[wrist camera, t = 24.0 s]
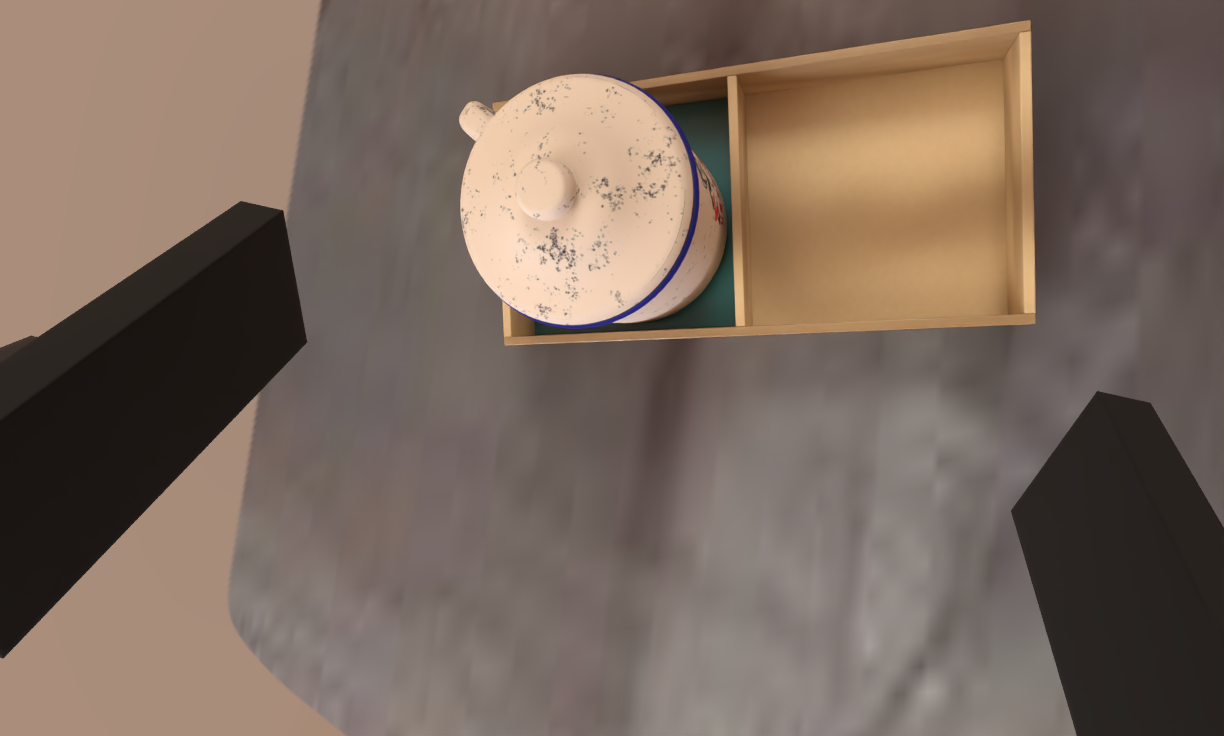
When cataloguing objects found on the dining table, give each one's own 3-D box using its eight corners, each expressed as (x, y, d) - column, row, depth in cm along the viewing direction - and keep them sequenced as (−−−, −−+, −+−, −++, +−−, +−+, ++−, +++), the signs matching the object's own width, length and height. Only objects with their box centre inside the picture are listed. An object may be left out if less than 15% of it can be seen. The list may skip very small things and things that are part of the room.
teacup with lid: (775, 208, 32) (741, 145, 21) (653, 366, 34) (563, 386, 23) (576, 63, 34) (450, -62, 23) (473, 219, 37) (314, 172, 25)
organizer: (523, 122, 36) (492, 102, 33) (1010, 52, 30) (1031, 19, 26) (533, 343, 37) (504, 345, 34) (1015, 324, 30) (1036, 323, 27)
